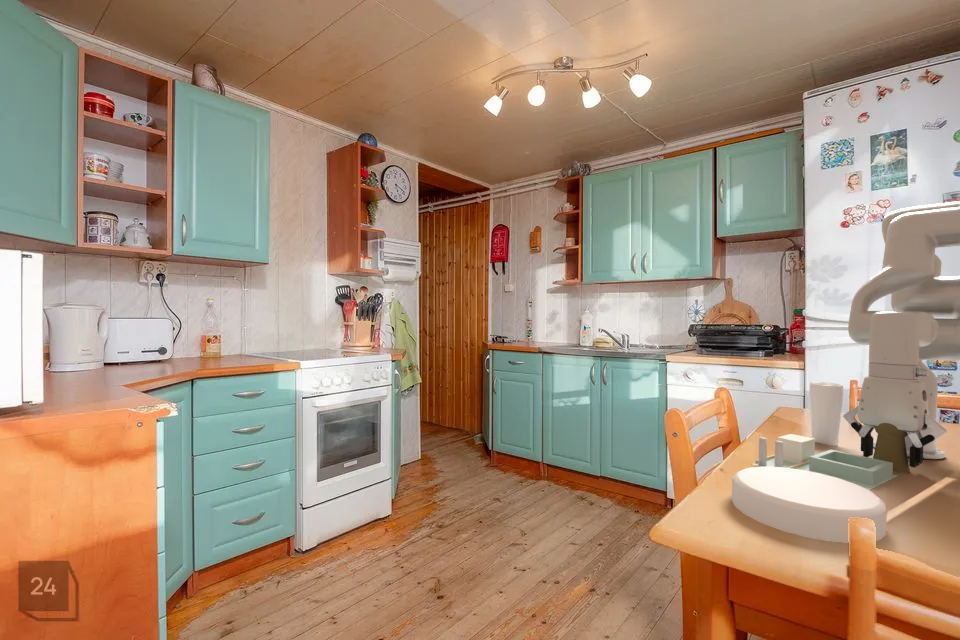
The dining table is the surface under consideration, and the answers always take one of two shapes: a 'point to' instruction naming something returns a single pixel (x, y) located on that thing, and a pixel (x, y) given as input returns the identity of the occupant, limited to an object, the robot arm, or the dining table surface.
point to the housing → (797, 448)
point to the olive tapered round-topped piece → (891, 447)
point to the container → (805, 502)
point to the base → (832, 465)
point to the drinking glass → (825, 411)
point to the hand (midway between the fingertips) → (890, 460)
